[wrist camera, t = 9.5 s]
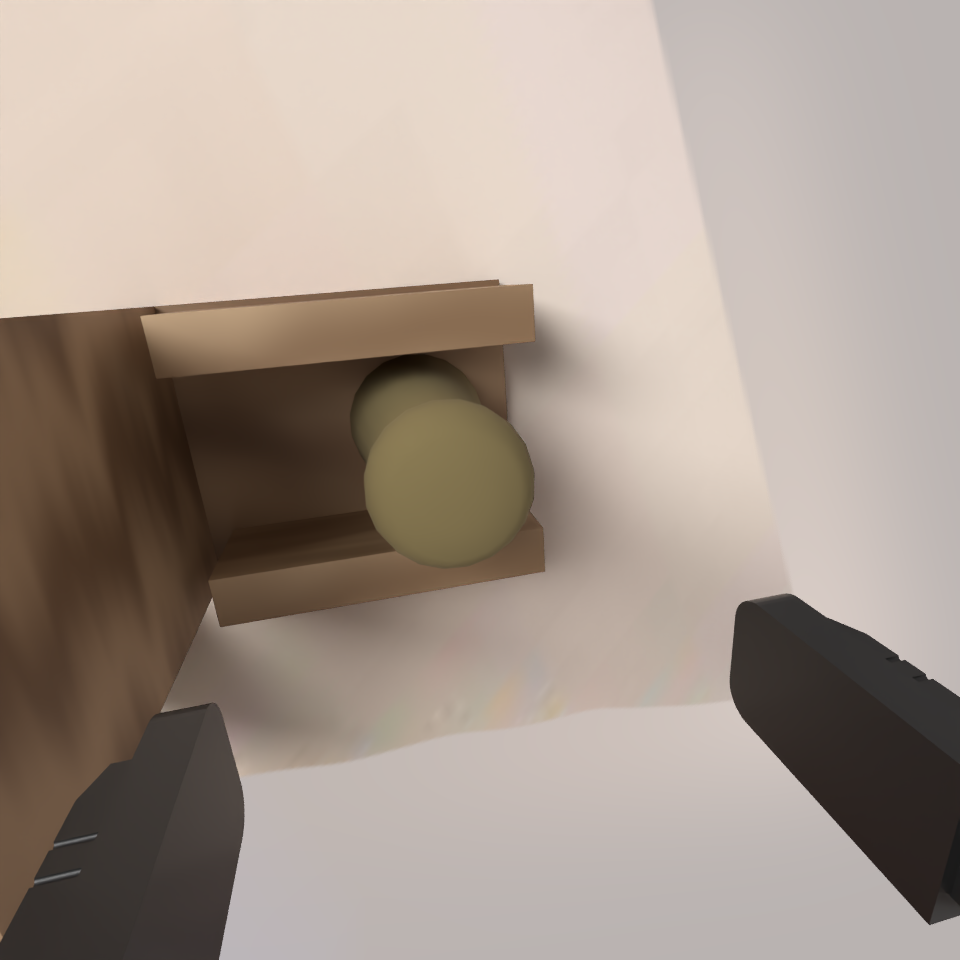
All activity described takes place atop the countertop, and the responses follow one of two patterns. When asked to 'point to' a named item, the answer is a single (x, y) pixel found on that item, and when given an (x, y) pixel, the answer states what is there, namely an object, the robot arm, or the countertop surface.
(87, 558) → the wooden stand
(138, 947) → the robot arm
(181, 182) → the countertop surface
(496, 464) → the olive rounded bulb piece
